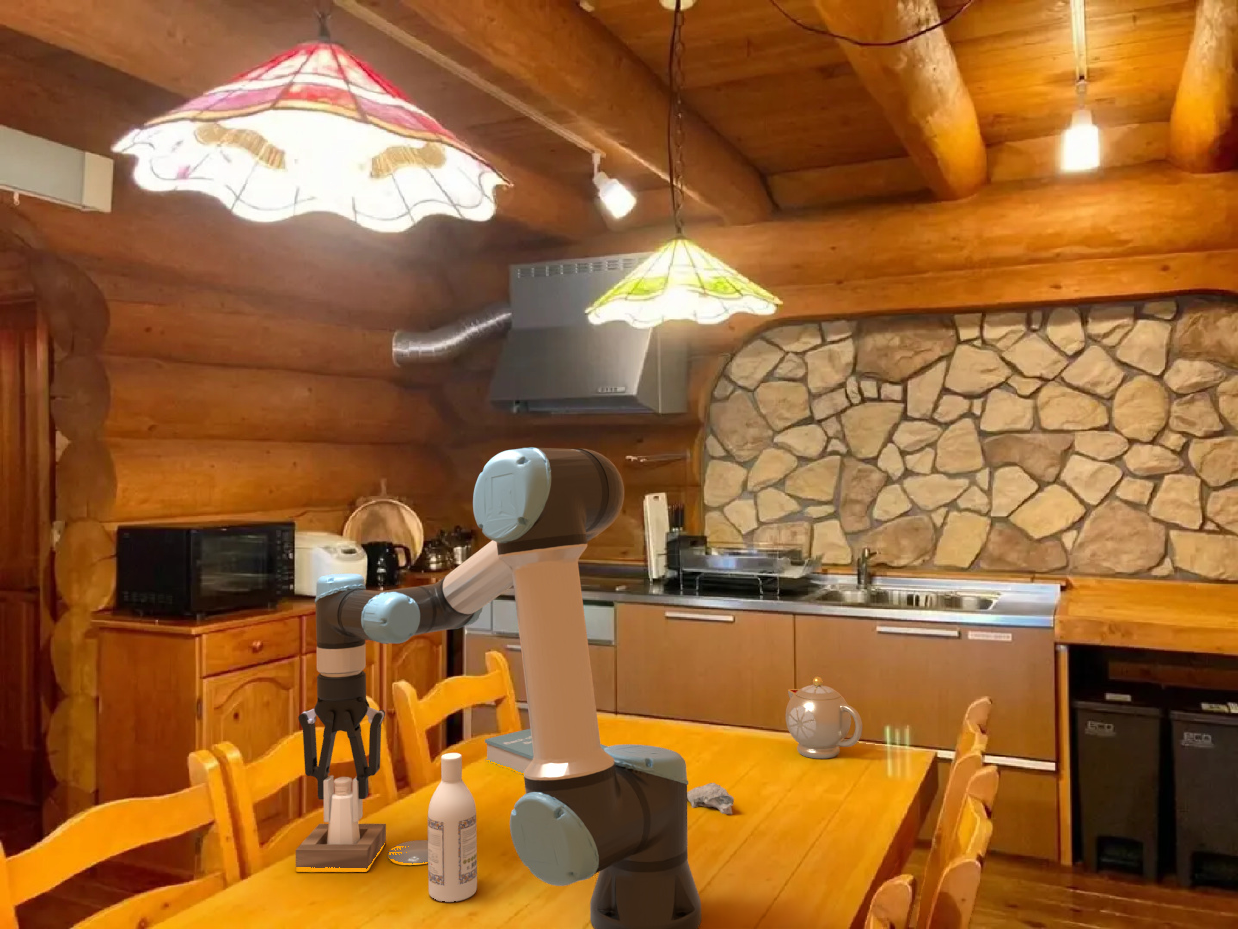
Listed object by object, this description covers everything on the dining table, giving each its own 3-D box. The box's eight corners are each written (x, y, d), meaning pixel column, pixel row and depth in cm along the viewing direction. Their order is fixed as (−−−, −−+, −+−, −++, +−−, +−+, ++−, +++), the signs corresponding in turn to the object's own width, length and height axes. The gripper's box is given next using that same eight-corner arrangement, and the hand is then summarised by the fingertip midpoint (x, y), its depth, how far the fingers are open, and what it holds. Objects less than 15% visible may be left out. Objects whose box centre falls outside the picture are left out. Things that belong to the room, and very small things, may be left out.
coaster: (439, 866, 153) (439, 862, 153) (381, 866, 153) (381, 862, 153) (450, 844, 162) (450, 840, 162) (395, 844, 162) (395, 840, 162)
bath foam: (478, 881, 147) (476, 747, 147) (475, 902, 141) (474, 761, 141) (430, 884, 147) (429, 749, 147) (426, 905, 140) (424, 763, 140)
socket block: (367, 873, 151) (367, 850, 151) (295, 873, 151) (295, 850, 151) (386, 845, 162) (385, 823, 162) (319, 845, 162) (319, 823, 162)
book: (485, 763, 207) (484, 739, 207) (545, 747, 218) (545, 725, 218) (552, 789, 191) (551, 763, 191) (614, 770, 201) (613, 746, 201)
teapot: (770, 753, 210) (769, 676, 210) (806, 740, 220) (806, 667, 220) (844, 771, 198) (843, 689, 198) (879, 756, 208) (878, 678, 208)
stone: (702, 822, 172) (702, 798, 172) (678, 797, 184) (678, 775, 184) (736, 818, 174) (737, 795, 174) (710, 794, 186) (711, 772, 186)
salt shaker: (364, 841, 160) (363, 773, 160) (357, 854, 154) (356, 783, 154) (331, 842, 160) (330, 773, 160) (322, 855, 154) (321, 784, 154)
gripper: (400, 666, 161) (402, 810, 161) (296, 667, 161) (298, 811, 161) (388, 676, 153) (390, 827, 153) (279, 677, 154) (281, 828, 154)
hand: (343, 818), depth 157 cm, fingers closed on salt shaker, 4 cm apart
